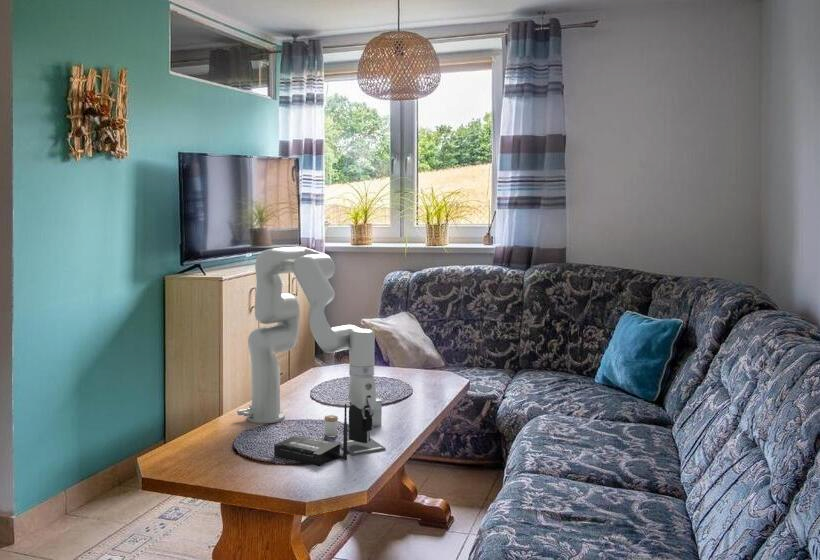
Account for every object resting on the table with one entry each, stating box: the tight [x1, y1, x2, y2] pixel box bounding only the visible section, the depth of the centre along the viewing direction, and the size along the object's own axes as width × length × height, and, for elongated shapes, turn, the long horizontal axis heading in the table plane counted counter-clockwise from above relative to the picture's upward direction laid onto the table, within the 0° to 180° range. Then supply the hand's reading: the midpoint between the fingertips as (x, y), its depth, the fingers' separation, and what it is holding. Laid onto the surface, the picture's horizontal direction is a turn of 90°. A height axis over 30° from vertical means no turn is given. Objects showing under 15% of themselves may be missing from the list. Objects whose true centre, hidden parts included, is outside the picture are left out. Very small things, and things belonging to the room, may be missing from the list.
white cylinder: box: [324, 414, 339, 436], centre depth 228 cm, size 4×4×6 cm
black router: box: [273, 403, 348, 467], centre depth 208 cm, size 20×14×17 cm
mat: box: [336, 437, 387, 457], centre depth 218 cm, size 11×11×1 cm
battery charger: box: [348, 404, 371, 443], centre depth 217 cm, size 7×4×11 cm, turn 59°
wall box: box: [349, 396, 384, 428], centre depth 240 cm, size 9×9×9 cm
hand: (361, 426), depth 217 cm, fingers closed on battery charger, 7 cm apart
